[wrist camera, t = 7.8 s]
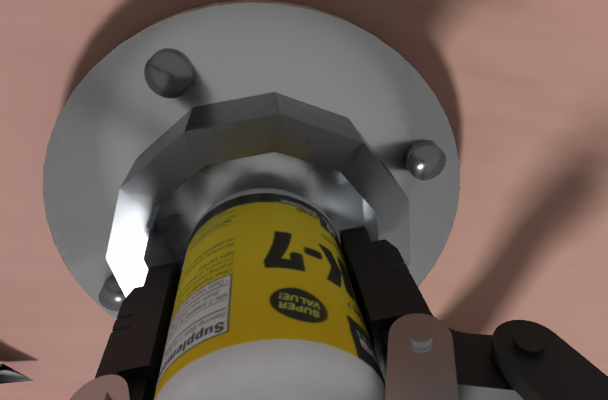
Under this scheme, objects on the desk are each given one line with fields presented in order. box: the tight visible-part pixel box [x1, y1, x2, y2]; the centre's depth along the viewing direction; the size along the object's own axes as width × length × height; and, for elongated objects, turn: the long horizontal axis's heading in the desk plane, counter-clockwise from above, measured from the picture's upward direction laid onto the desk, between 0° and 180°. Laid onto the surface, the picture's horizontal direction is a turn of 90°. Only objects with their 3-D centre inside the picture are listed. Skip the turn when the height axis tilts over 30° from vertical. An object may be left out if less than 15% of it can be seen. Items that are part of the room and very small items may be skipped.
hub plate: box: [43, 0, 460, 319], centre depth 14 cm, size 14×14×3 cm
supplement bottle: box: [154, 188, 386, 400], centre depth 10 cm, size 5×5×8 cm
